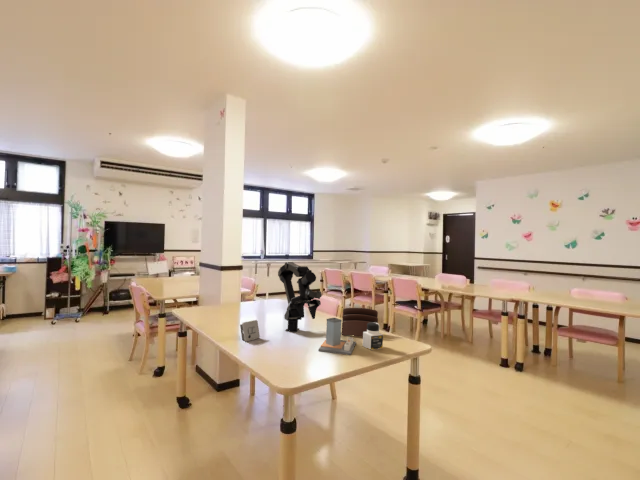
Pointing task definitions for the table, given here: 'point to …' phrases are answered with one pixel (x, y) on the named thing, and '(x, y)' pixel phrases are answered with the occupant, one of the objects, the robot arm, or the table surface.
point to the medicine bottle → (372, 336)
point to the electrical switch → (250, 330)
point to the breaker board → (339, 347)
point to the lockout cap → (333, 331)
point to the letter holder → (357, 320)
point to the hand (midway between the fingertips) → (308, 318)
